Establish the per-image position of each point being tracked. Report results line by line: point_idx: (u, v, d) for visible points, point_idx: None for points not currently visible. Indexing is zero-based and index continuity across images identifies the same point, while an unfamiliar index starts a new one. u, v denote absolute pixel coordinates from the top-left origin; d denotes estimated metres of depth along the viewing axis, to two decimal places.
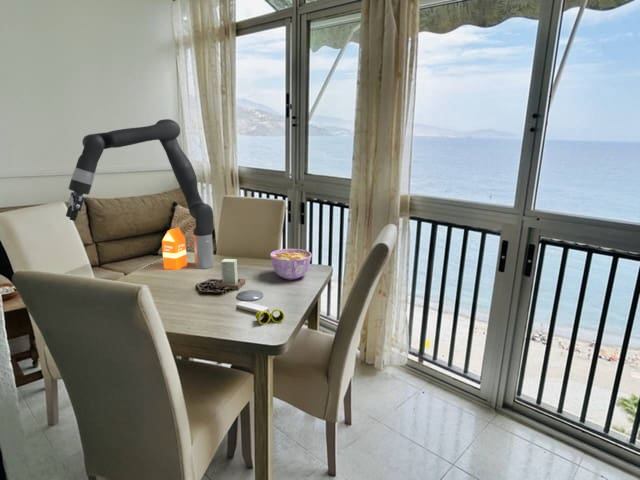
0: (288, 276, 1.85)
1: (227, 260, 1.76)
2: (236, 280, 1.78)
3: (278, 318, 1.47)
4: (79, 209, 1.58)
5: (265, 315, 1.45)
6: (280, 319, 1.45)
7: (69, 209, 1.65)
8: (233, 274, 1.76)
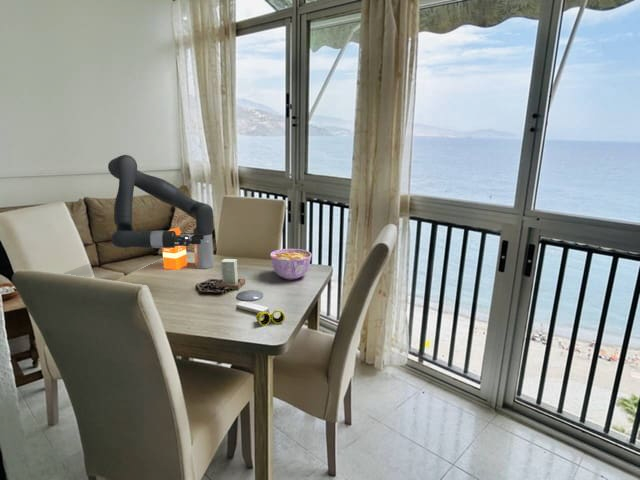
0: (288, 276, 1.85)
1: (227, 260, 1.76)
2: (236, 280, 1.78)
3: (279, 319, 1.46)
4: (186, 241, 1.65)
5: (266, 316, 1.44)
6: (281, 320, 1.44)
7: (196, 238, 1.76)
8: (233, 274, 1.76)
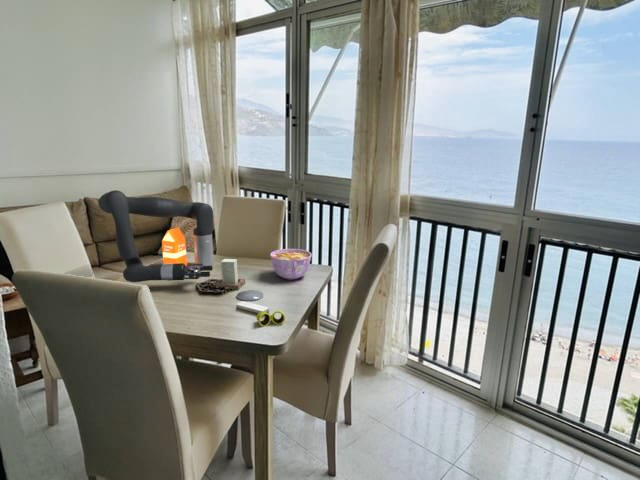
0: (288, 276, 1.85)
1: (227, 260, 1.76)
2: (236, 280, 1.78)
3: (279, 320, 1.45)
4: (196, 274, 1.69)
5: (266, 317, 1.44)
6: (281, 321, 1.44)
7: (205, 269, 1.80)
8: (233, 274, 1.76)
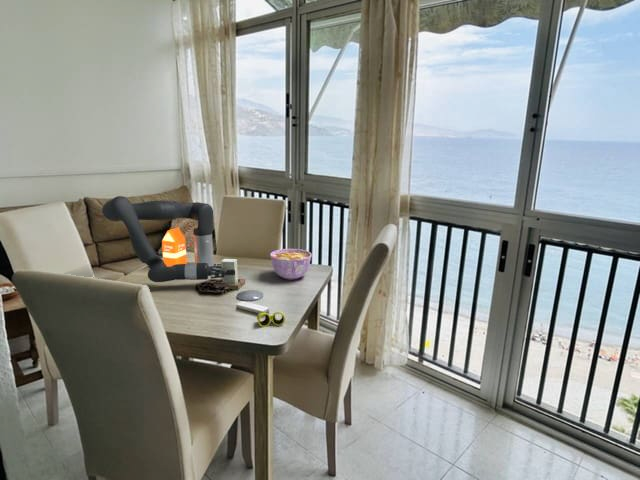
0: (288, 276, 1.85)
1: (227, 260, 1.76)
2: (236, 280, 1.78)
3: (280, 321, 1.44)
4: (222, 273, 1.72)
5: (266, 317, 1.44)
6: (281, 322, 1.43)
7: None
8: None
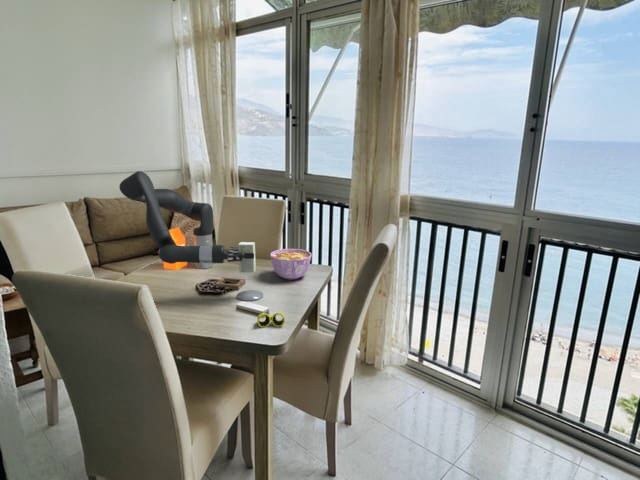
0: (288, 276, 1.85)
1: (245, 243, 1.62)
2: (254, 265, 1.64)
3: (280, 322, 1.43)
4: (240, 256, 1.57)
5: (267, 318, 1.43)
6: (281, 323, 1.42)
7: None
8: None
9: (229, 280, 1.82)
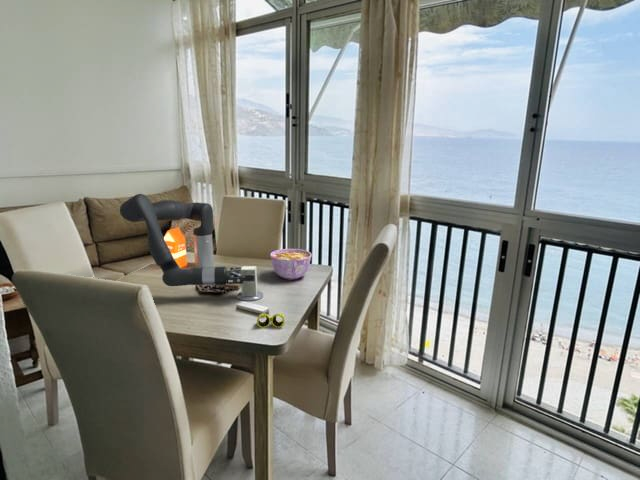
0: (288, 276, 1.85)
1: (247, 268, 1.64)
2: (256, 288, 1.67)
3: (280, 323, 1.43)
4: (241, 279, 1.58)
5: (267, 318, 1.43)
6: (281, 324, 1.41)
7: None
8: (254, 282, 1.64)
9: None
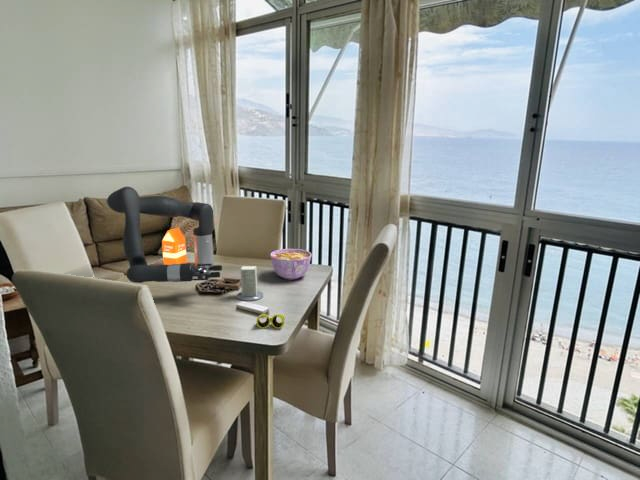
0: (288, 276, 1.85)
1: (247, 268, 1.64)
2: (256, 288, 1.67)
3: (280, 324, 1.42)
4: (205, 275, 1.57)
5: (267, 319, 1.42)
6: (281, 325, 1.40)
7: (214, 269, 1.68)
8: (254, 282, 1.64)
9: (229, 280, 1.82)
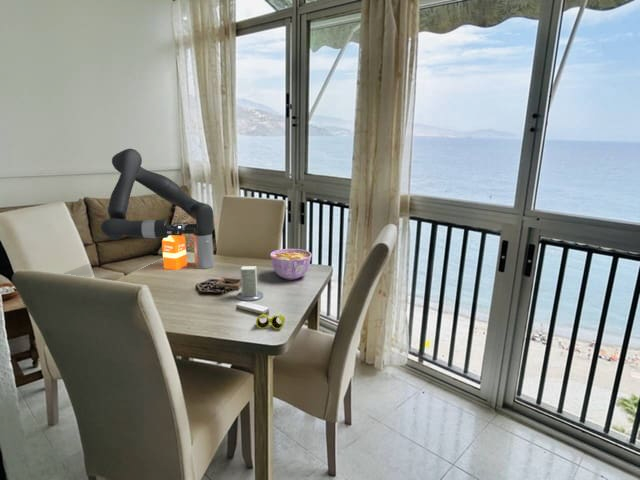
0: (288, 276, 1.85)
1: (247, 268, 1.64)
2: (256, 288, 1.67)
3: (280, 325, 1.41)
4: (179, 230, 1.58)
5: (267, 319, 1.42)
6: (280, 326, 1.40)
7: (189, 228, 1.69)
8: (254, 282, 1.64)
9: (229, 280, 1.82)
